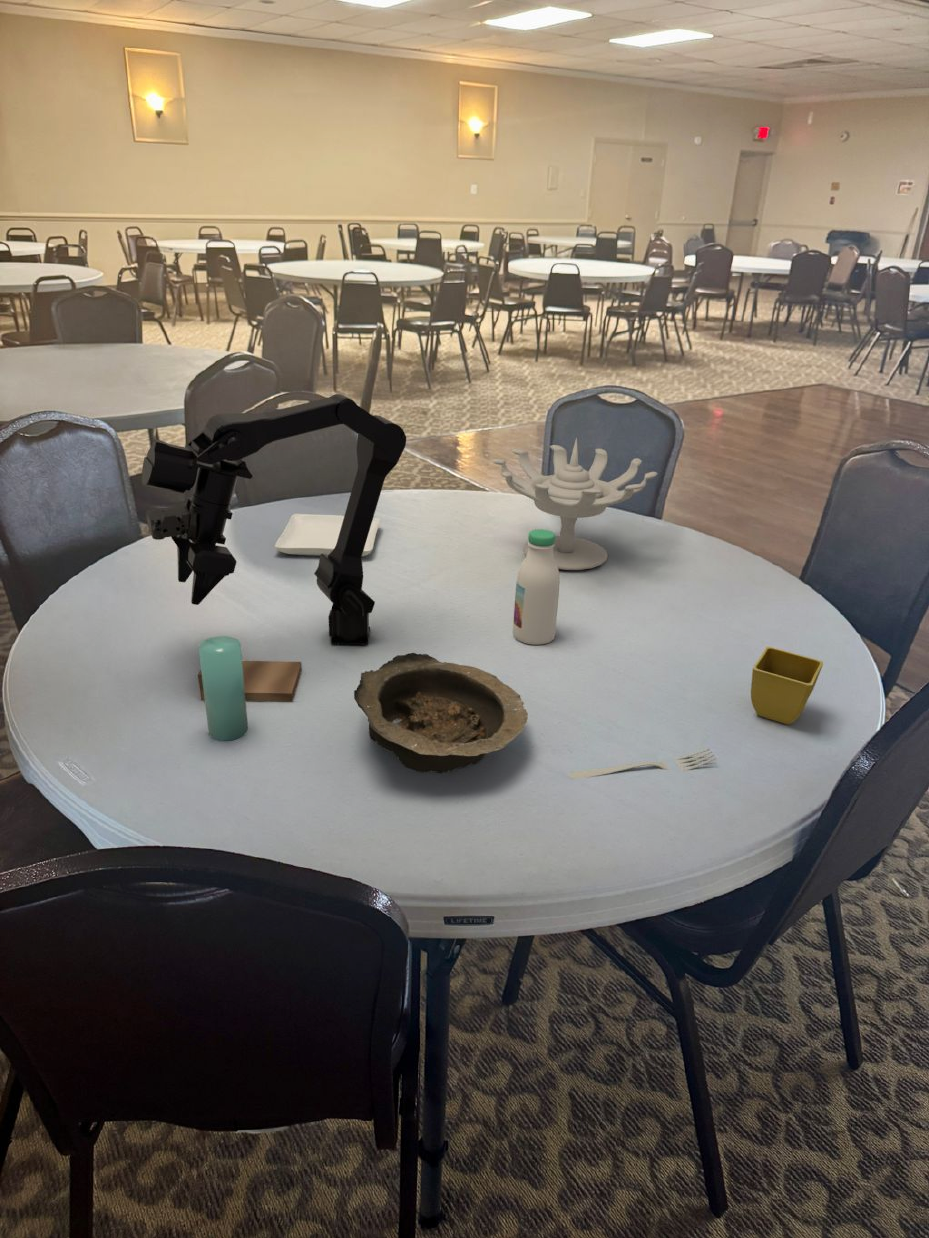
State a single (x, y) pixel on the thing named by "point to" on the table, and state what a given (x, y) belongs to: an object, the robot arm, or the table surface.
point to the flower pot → (783, 684)
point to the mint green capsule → (223, 687)
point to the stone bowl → (438, 712)
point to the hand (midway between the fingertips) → (188, 592)
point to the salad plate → (317, 535)
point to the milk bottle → (537, 591)
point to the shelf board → (267, 680)
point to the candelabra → (573, 499)
